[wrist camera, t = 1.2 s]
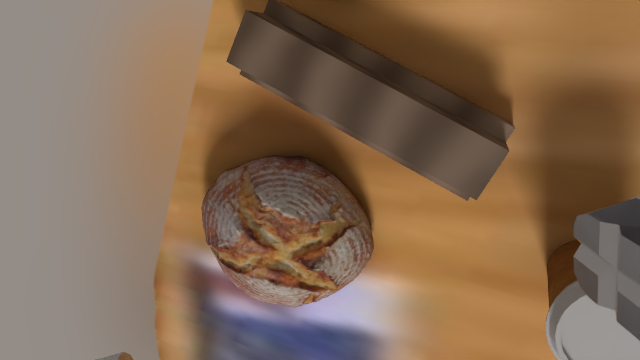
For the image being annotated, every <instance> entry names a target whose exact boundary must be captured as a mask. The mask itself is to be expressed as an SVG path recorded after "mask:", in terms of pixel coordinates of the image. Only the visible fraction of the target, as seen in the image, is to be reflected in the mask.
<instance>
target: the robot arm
mask: <svg viewBox="0 0 640 360" xmlns="http://www.w3.org/2000/svg"><path fill="white" fill-rule="evenodd" d="M573 236H574V237H575V238H576V239H577V240H578V241H579V242H580V243H581V245H580V246H579V248H578V250H577V251H576V253H575V255H574V256H573V259H574V273H575V275H576V278H577V280H578V283H579V285H580V287H581V288H582V289H583V291H584V292H585V293H586V295H587V296H588V297H589V298H590V299H591V300H593V301H594V302H595V303H596V304H597V305H599V306H602V307H606V308H609V309H612V310H615V313H616V320H617V322H618V323H619V324H620V325H622V326H623V327H624V328H625V329H626V330H628V331H629V332H630V333H631V334H632V335H633V336H635V337H636V338H637V339H638V340H639V341H640V195H639V196H636V197H633V198H630V199H628V200H627V201H623V202H620V203H617V204H614V205H610V206H607V207H604V208H601V209H597V210H594V211H591V212H588V213H584V214H581V215H578V216H577V217H576V220H575V222H574V232H573ZM97 360H133V358H132V357H131V355H130V354H128V353H125V352H122V353H119V354H115V355H112V356H108V357H104V358H101V359H97Z"/></svg>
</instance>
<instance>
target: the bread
mask: <svg viewBox="0 0 640 360" xmlns="http://www.w3.org/2000/svg"><path fill="white" fill-rule="evenodd" d="M202 220H203V227H204V230H205V236H206V242H207V244H208V245H210V247H211V250H212V251H213V253H214V255H215V257H216V258H217V260H218V263H219V265H220V266H221V268H222V270H223V272H224V273H225V274H226V276H227V277H228V278H229V279H230V280H231V281H232V282H233V283H234V284H235V285H236V286H237V287H238V288H239V289H240V290H242V291H243V292H244V293H246V294H247V295H249V296H251V297H253V298H255V299H257V300H260V301H263V302H268V303H273V304H280V305H286V306H290V307H291V306H292V307H298V306H302V305H303V304H309V303H312V302H317V301H319V300H320V299H322V298H325V297H328V296H330V295H331V294H333V293H335V292H337V291H339V290H340V289H342V288H343V287H345V286H346V285H347V284H349V283H350V282H351V281H353V280H354V279H355V278H356V277H357V276H358V275H359V274H360V272H361V271H362V269H363V268H364V267H365V265H366V264H367V262H368V261H369V260H370V258H371V255H372V252H373V248H374V243H373V237H372V232H371V228H370V225H369V221H368V218H367V216H366V214H365V212H364V211H363V209H362V207H361V205H360V204H359V203H358V201H357V199H356V198H355V196H354V195H353V194H351V192H350V191H349V190H348V189H347V188H346V187H345V186H344V185H343V184H342V183H341V182H340V181H339V180H338V179H337V178H336V177H335V176H334V175H333V174H332V173H331V172H329V171H328V170H326V169H325V168H323V167H322V166H321V165H319V164H316V163H314V162H313V161H311V160H310V159H308V158H305V157H301V156H292V157H285V156H276V155H274V156H268V157H264V158H261V159H256V160H252V161H249V162H247V163H245V164H244V165H241V166H239V167H237V168H233V169H227V170H226V171H224V172H223V173H221V175H220V176H219V177H218V179H217V180H216V181H215V183H214V184H213V186H212V188H211V189H209V190H208V192H207V193H206V195H205V197H204V200H203V204H202Z"/></svg>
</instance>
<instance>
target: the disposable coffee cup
mask: <svg viewBox="0 0 640 360" xmlns="http://www.w3.org/2000/svg"><path fill="white" fill-rule="evenodd" d="M580 245H581V243H580V242H579V241H573V242H570V243H567V244H565V245H563V246H561V247H560V248H559V249H557V250H556V251H555V252H554V253H553V255H552V256H551V258H550V260H549V262H548V267H547V275H548V294H549V311H548V314H547V318H546V335H547V340H548V344H549V346H550V348H551V350H552V352H553V354H554V355H555V356H556V358H557V359H558V360H640V341H639V340H638V339H637V338H636V337H635V336H633V335H632V334H631V333H630V332H629V331H628V330H626V329H625V328H624V327H623V326H622V325H620V324H619V323H618V322H617V320H616V313H615V310H612V309H609V308H606V307H602V306H599V305H597V304H596V303H595V302H594V301H593V300H591V299H590V298H589V297H588V296H587V295H586V293H585V292H584V291H583V289H582V288H581V287H580V285H579V283H578V280H577V278H576V275H575V273H574V259H573V256H574V255H575V253H576V251H577V250H578V248H579V246H580Z"/></svg>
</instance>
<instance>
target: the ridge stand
mask: <svg viewBox="0 0 640 360" xmlns="http://www.w3.org/2000/svg"><path fill="white" fill-rule="evenodd" d="M226 62H228V63H230V64H232V65H233V66H235V67H237V68H239V69H241V72H240V75H242V76H244V77H246V78H247V79H249V80H251V81H253V82H255V83H256V84H258V85H260V86H262V87H264V88H265V89H267V90H269V91H271V92H273V93H274V94H276V95H278V96H280V97H282V98H283V99H285V100H287V101H289V102H291V103H292V104H294V105H296V106H298V107H300V108H301V109H303V110H305V111H307V112H309V113H310V114H312V115H314V116H316V117H318V118H319V119H321V120H323V121H325V122H327V123H328V124H330V125H332V126H334V127H336V128H337V129H339V130H341V131H343V132H345V133H346V134H348V135H350V136H352V137H354V138H355V139H357V140H359V141H361V142H363V143H364V144H366V145H368V146H370V147H371V148H373V149H375V150H377V151H379V152H380V153H382V154H384V155H386V156H388V157H389V158H391V159H393V160H395V161H397V162H398V163H400V164H402V165H404V166H406V167H407V168H409V169H411V170H413V171H415V172H416V173H418V174H420V175H422V176H424V177H425V178H427V179H429V180H431V181H433V182H434V183H436V184H438V185H440V186H442V187H443V188H445V189H447V190H449V191H451V192H452V193H454V194H456V195H458V196H460V197H461V198H463V199H465V200H468V199H469V197H472V198H473V199H475V200H477V199H478V197H479V196H480V194H481V193H482V191H483V190H484V188H485V187H486V185H487V184H488V182H489V181H490V179H491V178H492V176H493V175H494V173H495V172H496V170H497V169H498V167H499V166H500V164H501V163H502V161H503V160H504V158H505V157H506V155H507V154H508V152H509V149H508V147H507V144H506V141H507V139H508V138H509V136H510V135H511V133H512V132H513V130H514V129H515V127H514V125H513V124H511V123H509V122H507V121H506V120H504V119H502V118H500V117H498V116H496V115H494V114H492V113H490V112H488V111H486V110H485V109H483V108H481V107H479V106H477V105H475V104H473V103H471V102H469V101H467V100H465V99H464V98H462V97H460V96H458V95H456V94H454V93H452V92H450V91H448V90H446V89H445V88H443V87H441V86H439V85H437V84H435V83H433V82H431V81H429V80H427V79H425V78H424V77H422V76H420V75H418V74H416V73H414V72H412V71H410V70H408V69H406V68H405V67H403V66H401V65H399V64H397V63H395V62H393V61H391V60H389V59H387V58H385V57H384V56H382V55H380V54H378V53H376V52H374V51H372V50H370V49H368V48H366V47H365V46H363V45H361V44H359V43H357V42H355V41H353V40H351V39H349V38H347V37H345V36H344V35H342V34H340V33H338V32H336V31H334V30H332V29H330V28H328V27H326V26H324V25H323V24H321V23H319V22H317V21H315V20H313V19H311V18H309V17H307V16H305V15H304V14H302V13H300V12H298V11H296V10H294V9H292V8H290V7H288V6H286V5H284V4H283V3H281V2H279V1H277V0H269V1H268V4H267V6H266V9H265V11H264V14H263V13H258V12H252V11H247V10H246V11H245V14H244V17H243V19H242V22H241V24H240V27H239V30H238V32H237V35H236V38H235V40H234V43H233V45H232V48H231V51H230V53H229V56H228V58H227V61H226Z"/></svg>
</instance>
